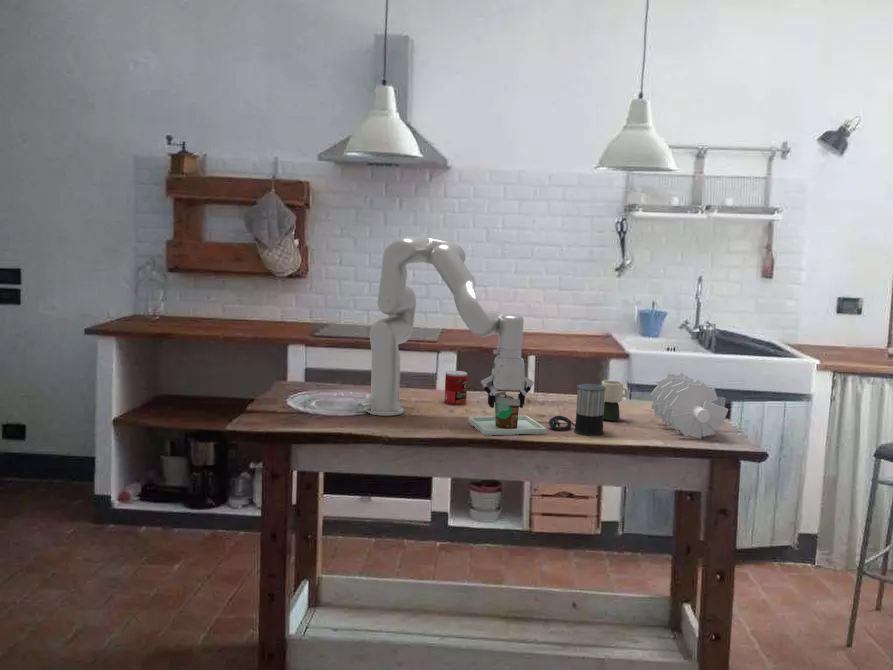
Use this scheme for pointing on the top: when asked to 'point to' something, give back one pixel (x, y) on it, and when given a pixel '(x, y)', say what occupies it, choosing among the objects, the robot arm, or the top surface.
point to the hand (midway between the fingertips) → (505, 406)
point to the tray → (523, 427)
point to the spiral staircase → (687, 405)
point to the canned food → (455, 387)
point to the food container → (506, 411)
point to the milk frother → (586, 411)
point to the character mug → (613, 398)
